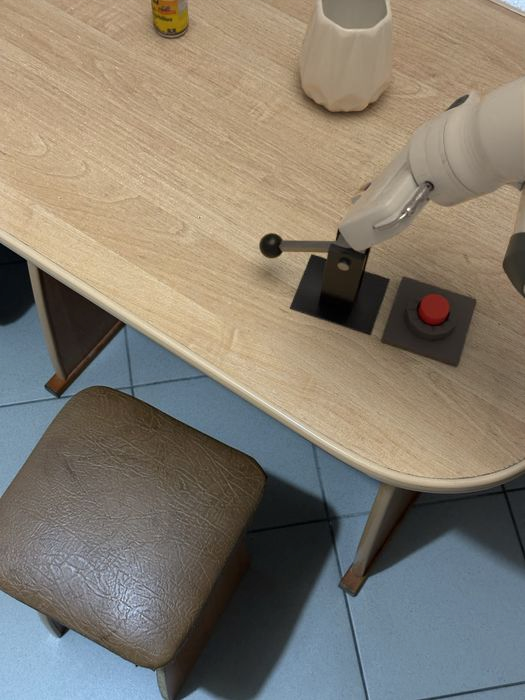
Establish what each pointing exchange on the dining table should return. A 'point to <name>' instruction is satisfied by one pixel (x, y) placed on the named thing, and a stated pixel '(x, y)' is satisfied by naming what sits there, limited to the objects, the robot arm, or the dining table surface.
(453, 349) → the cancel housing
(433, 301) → the button
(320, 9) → the vase
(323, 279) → the switch bracket
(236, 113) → the dining table surface
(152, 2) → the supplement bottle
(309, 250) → the switch lever
